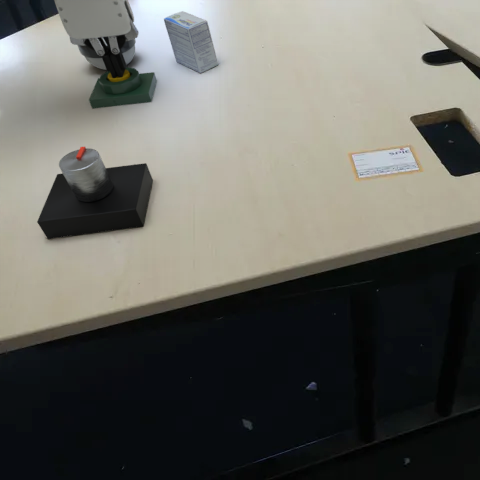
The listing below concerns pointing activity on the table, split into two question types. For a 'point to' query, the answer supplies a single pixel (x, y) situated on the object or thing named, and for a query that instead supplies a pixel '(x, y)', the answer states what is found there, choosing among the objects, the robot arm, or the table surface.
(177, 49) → the medicine box
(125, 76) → the yellow push button
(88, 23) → the robot arm
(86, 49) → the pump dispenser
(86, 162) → the knob
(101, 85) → the button housing
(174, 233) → the table surface
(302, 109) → the table surface
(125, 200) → the dial panel
